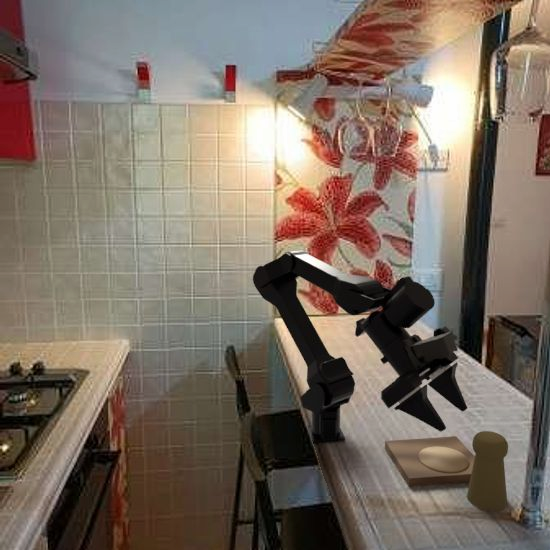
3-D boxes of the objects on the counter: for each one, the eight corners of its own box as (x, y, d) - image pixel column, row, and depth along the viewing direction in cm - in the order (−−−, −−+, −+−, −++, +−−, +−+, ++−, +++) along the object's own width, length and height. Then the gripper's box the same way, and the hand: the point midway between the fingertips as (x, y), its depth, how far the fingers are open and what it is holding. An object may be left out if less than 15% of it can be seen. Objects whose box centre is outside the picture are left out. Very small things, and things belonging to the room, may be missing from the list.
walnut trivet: (384, 448, 102) (385, 439, 102) (455, 443, 104) (456, 434, 103) (408, 486, 90) (409, 476, 89) (489, 480, 91) (489, 470, 91)
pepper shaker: (497, 488, 89) (501, 425, 87) (514, 510, 83) (519, 444, 81) (460, 489, 89) (464, 426, 87) (475, 511, 83) (479, 445, 81)
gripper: (400, 326, 80) (471, 415, 76) (448, 303, 95) (511, 376, 90) (354, 366, 87) (417, 450, 82) (406, 339, 101) (462, 409, 96)
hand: (454, 419), depth 87 cm, fingers open, 9 cm apart
